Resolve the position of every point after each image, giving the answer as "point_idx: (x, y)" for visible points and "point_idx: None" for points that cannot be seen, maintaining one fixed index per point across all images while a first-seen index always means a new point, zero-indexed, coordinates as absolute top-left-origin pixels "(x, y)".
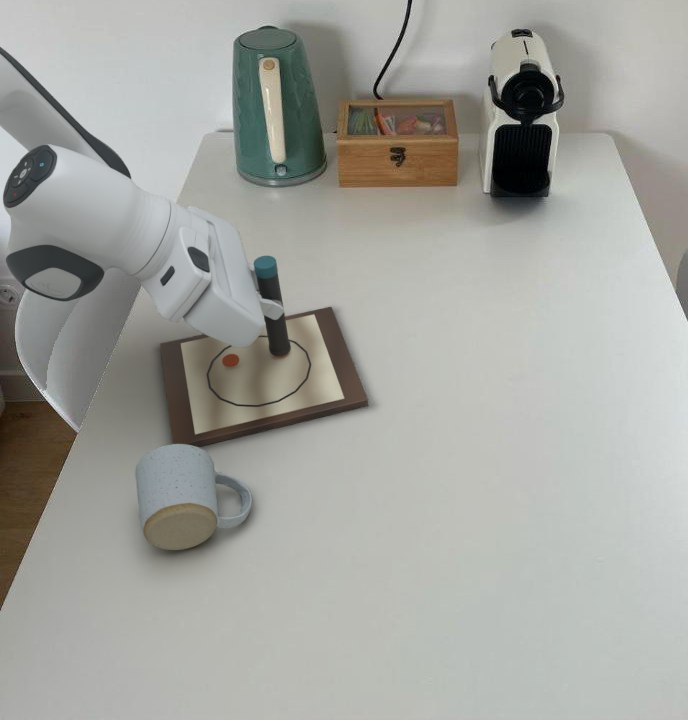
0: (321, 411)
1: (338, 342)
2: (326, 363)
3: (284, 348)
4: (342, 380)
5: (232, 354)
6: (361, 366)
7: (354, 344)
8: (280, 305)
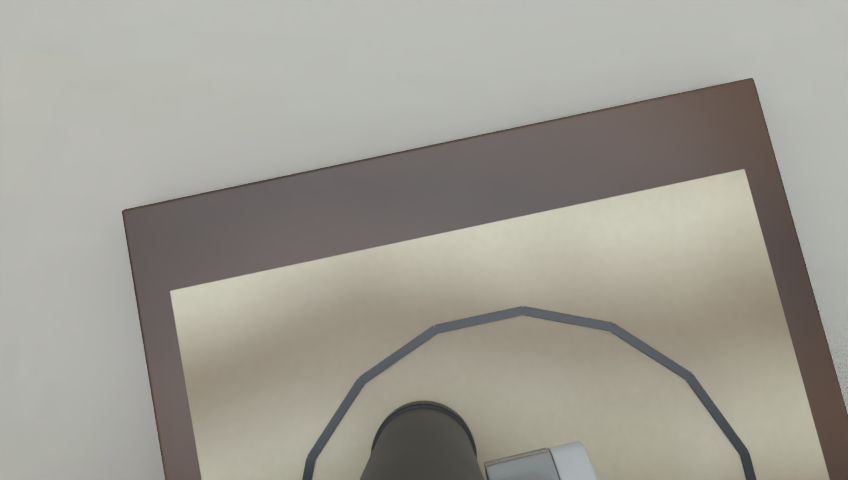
0: (804, 266)
1: (385, 184)
2: (520, 239)
3: (466, 431)
4: (633, 174)
5: None
6: (508, 104)
7: (367, 127)
8: (561, 472)
